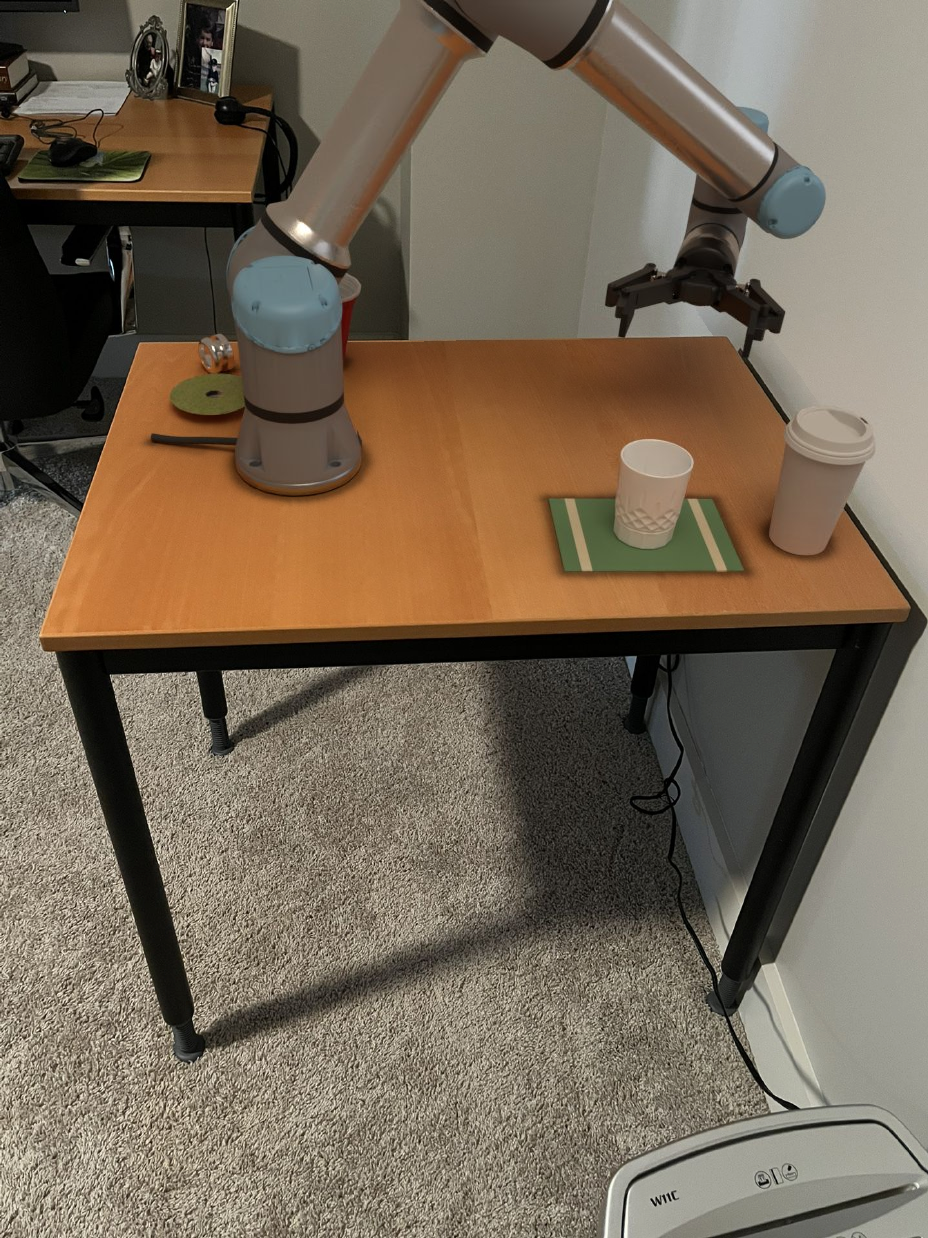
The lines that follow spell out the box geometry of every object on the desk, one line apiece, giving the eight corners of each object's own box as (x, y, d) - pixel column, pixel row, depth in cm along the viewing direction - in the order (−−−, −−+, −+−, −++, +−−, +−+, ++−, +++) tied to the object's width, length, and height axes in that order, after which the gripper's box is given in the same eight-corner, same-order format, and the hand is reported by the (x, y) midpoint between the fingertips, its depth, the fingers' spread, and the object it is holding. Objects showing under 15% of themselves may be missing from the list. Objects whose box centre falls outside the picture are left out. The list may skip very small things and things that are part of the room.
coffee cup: (846, 568, 110) (889, 451, 101) (759, 559, 111) (794, 442, 101) (832, 519, 118) (871, 406, 108) (751, 511, 118) (783, 397, 109)
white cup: (633, 560, 110) (648, 483, 103) (594, 522, 115) (606, 447, 108) (690, 542, 113) (708, 467, 106) (650, 506, 118) (664, 432, 111)
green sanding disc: (258, 425, 129) (257, 411, 127) (169, 429, 127) (167, 415, 126) (257, 384, 137) (256, 371, 136) (174, 387, 135) (171, 374, 134)
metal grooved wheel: (235, 374, 139) (232, 340, 135) (217, 380, 137) (212, 346, 134) (217, 361, 141) (213, 328, 138) (198, 367, 140) (194, 333, 137)
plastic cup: (351, 384, 138) (348, 301, 130) (276, 374, 139) (269, 291, 131) (372, 350, 146) (370, 270, 138) (301, 341, 147) (296, 261, 140)
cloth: (564, 573, 108) (564, 570, 108) (548, 501, 119) (548, 498, 118) (743, 572, 109) (744, 569, 109) (711, 501, 120) (712, 498, 120)
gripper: (799, 310, 124) (792, 386, 108) (603, 280, 128) (569, 349, 113) (816, 250, 119) (811, 321, 103) (611, 221, 123) (576, 284, 108)
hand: (684, 335), depth 108 cm, fingers open, 13 cm apart
